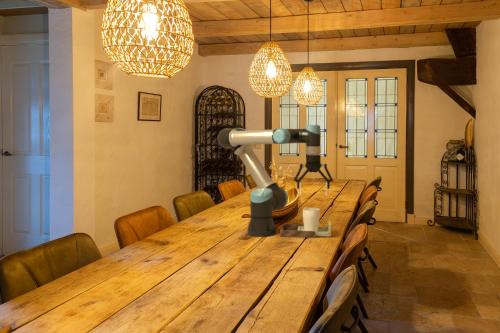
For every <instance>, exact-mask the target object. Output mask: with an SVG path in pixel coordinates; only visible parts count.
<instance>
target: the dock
mask: <svg viewBox="0 0 500 333" xmlns="http://www.w3.org/2000/svg"><path fill="white" fill-rule="evenodd" d="M298 226H304V223H303V224H301V223H299V224H298V223H297V224H295V223H294V224H293V223H282V225H281V228H280V234H279V235H280V237H281V238H305V239H306V238H307V239H308V238H310V239H311V238H313V239H316V236H315V233H316V231H299V230H298Z"/></svg>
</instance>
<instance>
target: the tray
mask: <svg viewBox="0 0 500 333" xmlns="http://www.w3.org/2000/svg"><path fill="white" fill-rule="evenodd" d="M327 222H328V224H327V226H318V231H317V232H316V233H315V237H332V230H331V229H332V222H331V219H328V221H327ZM298 230H299V231H305V229H304V226H298Z"/></svg>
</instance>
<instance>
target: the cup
mask: <svg viewBox="0 0 500 333" xmlns="http://www.w3.org/2000/svg"><path fill="white" fill-rule="evenodd" d="M320 217H321V210H320V208H317V207H303V209H302V220H303V225H304V229H305V231H316V232H317V231H318V227H319V225H320V224H319V223H320Z"/></svg>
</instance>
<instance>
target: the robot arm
mask: <svg viewBox="0 0 500 333" xmlns="http://www.w3.org/2000/svg"><path fill="white" fill-rule="evenodd" d="M321 130H322V129H321V125H319V124H306V125H305V128H278V129H276V128H275V129H257V130H256V129H253V130H252V129H251V130H247V129H245V128H241V127H234V128H232V127H226V128H225V127H224V128H223V129H221V130H220V131H219V132H218V135H217V137H216V138H217V142H218V143H217V144H219V146H220V147H221V148H224V149H231V150H232V152H233V153H234V155H236V156H238V158H240V160H241V161H242V163H243V165H244V166H245V167H246V170H247V171H248V173H249V174H250V176H251V178H252V179H253V181H254V184H256V185H257V186H256V187H257V188H256V189H252V191H251V193H250V218H249V223H248V226H247V232H246V233H247V235H249V236H254V237H270V236H274V235H276V225H275V223H274V219H273V212H274V211H279V210H282V209H283V208H284V207H286V206H287V204H288V201H289V194H288V192H287V190H286V189H284V188H282V187H280V185H279V184H278V182H276V181H273V180H272V177H270V175H269V174H268V172H267V170H266V169H265V167H264V166H263V164H262V162H261V160H260V159H259V157H258V156H257V154H256V153H255V151H254V150H253V148H252V146H253V145H284V144H285V145H286V144H305V154H306V155H305V164H304V163H300V164H299V169H298V170H297V173H296V174H295V177H294V179H293V181H294V182H295V183H296V184H297V185H296V188H297V190H299V196H302V182H301V181H302V180H303V179H304V178H305V177H306V175H307V174H308V173H319V175H320V176H321V177H323V178H322V179H324V180H325V181H326V182H325V196H328V190H329V189H330V183H331V182H332V183H333V182H334V179H333V177H332V175H331V173H330V171H329V169H328V165H327V163H323V164H322V162H321V159H322V158H321V153H322V151H321V150H322V149H321V148H322V147H321V145H322V144H321V143H322V142H321V137H322V136H321V135H322V134H321V132H322V131H321ZM303 168H306V170H305V171H304V172H303V173H302V175H301V176H300V174H301V171H302V170H303ZM321 168H323V169H324V170H325V172H326V174H327V175H325V174H324V172H323V171H322V170H321Z"/></svg>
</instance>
